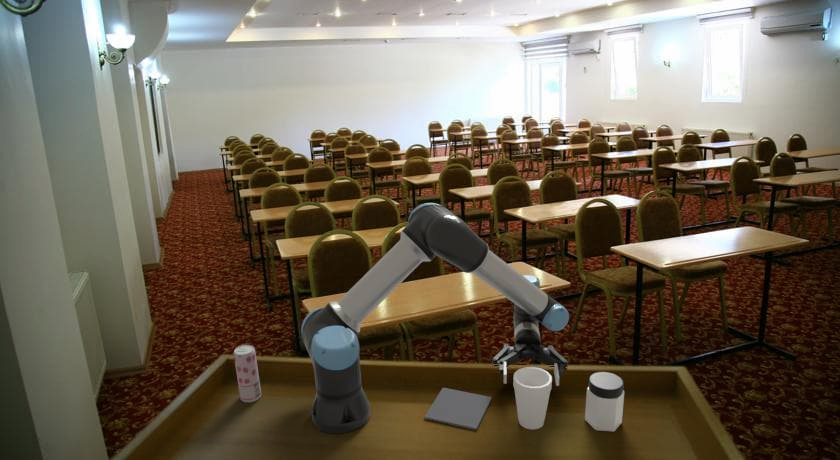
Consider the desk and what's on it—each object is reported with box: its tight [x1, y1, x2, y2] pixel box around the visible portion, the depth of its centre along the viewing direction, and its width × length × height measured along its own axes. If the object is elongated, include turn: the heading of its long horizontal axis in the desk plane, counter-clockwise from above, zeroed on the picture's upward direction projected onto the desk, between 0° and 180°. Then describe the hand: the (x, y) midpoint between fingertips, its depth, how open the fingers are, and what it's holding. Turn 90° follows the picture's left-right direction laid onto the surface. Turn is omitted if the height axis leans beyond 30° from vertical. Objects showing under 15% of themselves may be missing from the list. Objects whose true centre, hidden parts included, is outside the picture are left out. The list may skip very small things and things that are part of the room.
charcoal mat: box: [423, 387, 493, 431], centre depth 161 cm, size 14×14×1 cm
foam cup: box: [512, 366, 553, 430], centre depth 153 cm, size 10×9×13 cm
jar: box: [584, 371, 625, 432], centre depth 152 cm, size 9×8×12 cm
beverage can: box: [233, 344, 262, 403], centre depth 167 cm, size 6×6×15 cm
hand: (531, 380), depth 160 cm, fingers open, 13 cm apart
